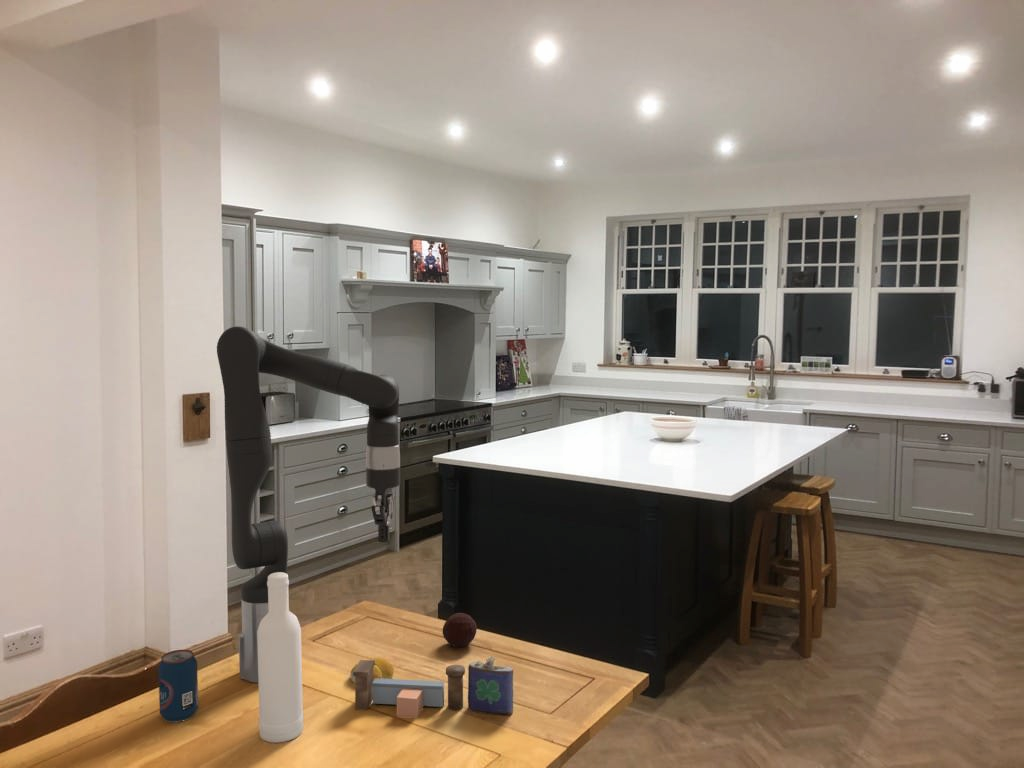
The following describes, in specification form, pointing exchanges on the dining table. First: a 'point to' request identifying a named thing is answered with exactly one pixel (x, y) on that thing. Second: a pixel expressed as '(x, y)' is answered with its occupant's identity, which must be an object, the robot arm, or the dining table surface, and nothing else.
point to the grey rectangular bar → (390, 688)
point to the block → (409, 703)
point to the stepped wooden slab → (363, 684)
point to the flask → (490, 688)
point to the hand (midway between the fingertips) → (384, 541)
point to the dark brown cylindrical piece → (455, 686)
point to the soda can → (178, 685)
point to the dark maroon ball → (459, 630)
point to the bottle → (279, 666)
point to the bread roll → (379, 669)
